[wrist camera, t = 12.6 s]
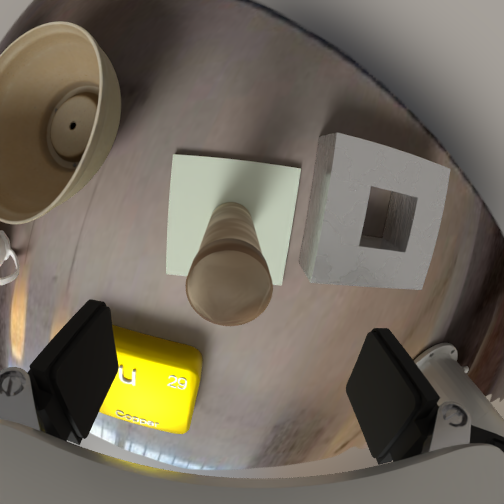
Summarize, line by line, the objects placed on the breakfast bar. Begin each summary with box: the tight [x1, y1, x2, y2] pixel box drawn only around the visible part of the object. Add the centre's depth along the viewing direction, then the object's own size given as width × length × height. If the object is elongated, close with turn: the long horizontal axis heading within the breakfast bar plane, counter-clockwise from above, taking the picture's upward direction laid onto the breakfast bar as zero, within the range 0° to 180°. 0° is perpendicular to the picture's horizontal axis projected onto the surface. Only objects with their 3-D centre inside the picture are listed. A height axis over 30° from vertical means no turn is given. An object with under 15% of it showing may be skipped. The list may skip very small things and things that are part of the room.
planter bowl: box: [0, 22, 121, 224], centre depth 18 cm, size 16×16×11 cm
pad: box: [166, 154, 301, 285], centre depth 27 cm, size 12×12×1 cm
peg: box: [186, 202, 273, 326], centre depth 20 cm, size 4×4×14 cm
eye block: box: [299, 133, 450, 290], centre depth 25 cm, size 13×13×5 cm
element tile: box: [99, 325, 203, 434], centre depth 31 cm, size 15×15×5 cm
